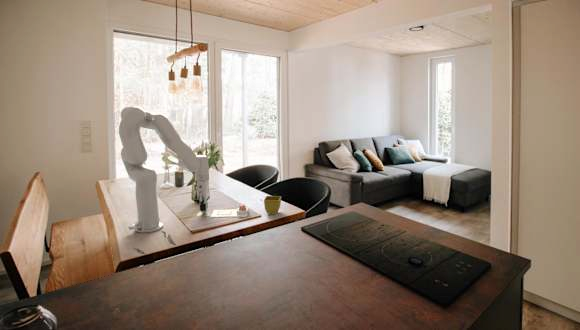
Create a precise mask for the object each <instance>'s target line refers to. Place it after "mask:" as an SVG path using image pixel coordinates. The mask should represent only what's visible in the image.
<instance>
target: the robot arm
mask: <svg viewBox="0 0 580 330" xmlns="http://www.w3.org/2000/svg"><path fill="white" fill-rule="evenodd" d="M141 128H143V129H148V130H152V131H153V130H154V132H155V133H156V135H157V136H158V137H159V139H160V140H161V142H162V143H163V145H164V146H165V147H166V148H167V149H168V150H170V151H171V152H173V154H175V155H176V156H178V158H179V159H178V161H177V165H178V167H179V168H180V169H181V170H183V171H187V172H190V173H194V181H195V182H196V194H197V199H198V200H199V211H200V212H201V211H206V204H205V199H207V200H208V198H209V196H210V185H209V181H210V170H209V168H210V167H209V157H208V155H204V154H199V155H197V154H196V153H195V152H194V150H193V149H192V148H191V146H189V145H188V144H187V142H186V141H185V140H184V138H182V137H181V136H180V135H179V133H178V131H177V130H176V129H175V127H174V125H173V124H172V123H171V120H170V119H169V118H168V116H167V115H165V114H163V113H161V112H149V111H146V110H144V108H142V107H140V106H133V105H132V106H126V107H124V108H123V109H122V110H121V111H120V122H119V126H118V135H119V139H120V142H121V145H122V148H121V150H120V157H121V160H122V163H123V165H124V169H125V170H126V173H127V175H128V178H129V179H130V180H131V181H132V182H134V183H135V201H136V213H137V220H136V221H135V223H134V224H131V225H129V226H128V230H135V231H136V232H137V233H142V234H145V233H146V234H149V233H154V232H157V231H159V230H161V229H162V228H163V227H164V224H163V223H162V221H161V222H160V215H159V203H158V202H159V201H158V190H157V188H158V186H157V183H158V174H157V172H156V171H155V169H153V167H150V166H148V165H147V164H146V162H147V159H148V152H147V150H146V147H145V145H144V142H143V139H142V136H141V133H140V131H141V130H140V129H141ZM202 197H204V198H202ZM203 200H204V201H203ZM208 206H209V205H208V204H207V209H208V208H209V207H208Z"/></svg>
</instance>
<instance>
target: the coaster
mask: <svg viewBox="0 0 580 330" xmlns="http://www.w3.org/2000/svg"><path fill="white" fill-rule="evenodd" d="M211 215H212V211H207V212H206V214H204V215H203V214H202V213H201V211H200V212H198V213H197V214H196V217H210V216H211Z"/></svg>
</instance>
